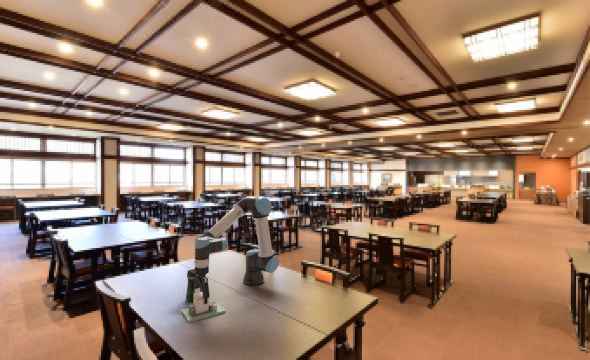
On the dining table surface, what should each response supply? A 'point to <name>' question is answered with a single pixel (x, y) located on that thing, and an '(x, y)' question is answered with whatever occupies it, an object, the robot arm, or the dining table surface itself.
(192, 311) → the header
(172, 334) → the dining table surface
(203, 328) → the dining table surface
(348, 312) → the dining table surface
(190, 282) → the coffee jar
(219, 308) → the board
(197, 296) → the plug
